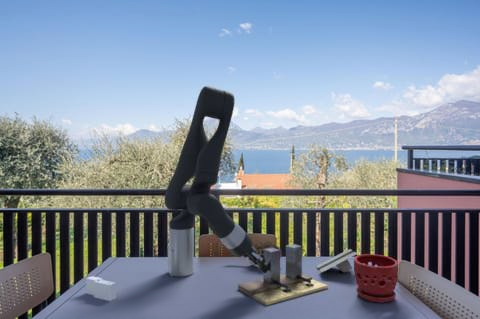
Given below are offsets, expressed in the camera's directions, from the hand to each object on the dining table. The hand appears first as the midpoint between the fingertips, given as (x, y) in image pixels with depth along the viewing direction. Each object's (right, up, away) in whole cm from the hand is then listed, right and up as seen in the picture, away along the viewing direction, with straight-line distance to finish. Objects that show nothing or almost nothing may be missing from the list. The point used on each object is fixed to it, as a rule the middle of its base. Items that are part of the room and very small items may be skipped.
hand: (265, 270), depth 118 cm
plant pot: (+34, -6, -7) cm, 35 cm away
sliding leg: (+4, -4, -1) cm, 6 cm away
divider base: (+5, -6, +1) cm, 8 cm away
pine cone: (-3, -6, +25) cm, 26 cm away
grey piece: (+28, -6, +17) cm, 34 cm away
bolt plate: (+8, -6, -4) cm, 11 cm away
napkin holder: (-53, -6, -7) cm, 54 cm away
